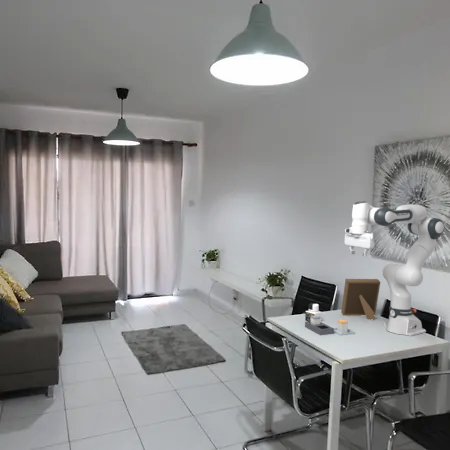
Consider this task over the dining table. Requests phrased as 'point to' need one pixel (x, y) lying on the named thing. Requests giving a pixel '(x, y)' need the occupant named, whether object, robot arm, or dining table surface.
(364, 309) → the photo frame
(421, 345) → the dining table surface
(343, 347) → the dining table surface
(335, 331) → the tray
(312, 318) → the grey rectangular block
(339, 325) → the plug
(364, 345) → the dining table surface
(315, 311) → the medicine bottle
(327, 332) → the square-holed metal block
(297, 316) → the dining table surface
